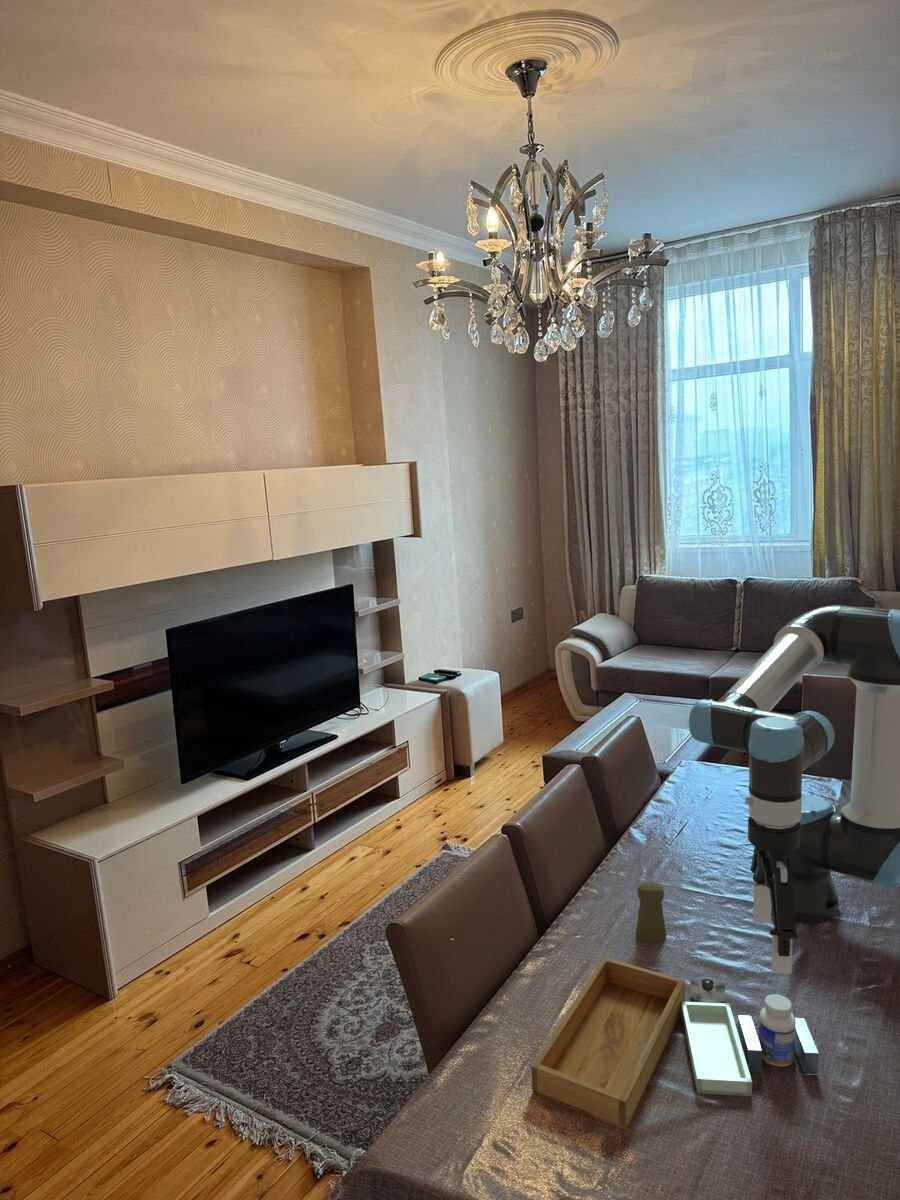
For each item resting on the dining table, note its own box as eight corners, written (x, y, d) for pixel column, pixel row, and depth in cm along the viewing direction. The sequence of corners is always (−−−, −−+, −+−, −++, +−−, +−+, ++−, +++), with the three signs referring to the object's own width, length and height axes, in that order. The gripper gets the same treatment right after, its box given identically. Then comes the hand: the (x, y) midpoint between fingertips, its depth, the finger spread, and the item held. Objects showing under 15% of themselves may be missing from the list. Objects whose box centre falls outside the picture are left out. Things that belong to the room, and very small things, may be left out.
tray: (626, 1133, 121) (625, 1098, 120) (531, 1095, 129) (530, 1063, 128) (685, 1008, 147) (685, 979, 146) (603, 984, 154) (603, 956, 153)
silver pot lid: (721, 987, 151) (721, 972, 151) (728, 1009, 145) (728, 993, 145) (687, 985, 152) (687, 970, 152) (692, 1007, 146) (692, 992, 146)
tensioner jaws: (803, 1040, 137) (804, 1018, 136) (817, 1076, 129) (818, 1053, 128) (737, 1036, 138) (738, 1015, 138) (748, 1072, 131) (748, 1049, 130)
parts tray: (729, 1016, 143) (729, 1003, 143) (751, 1096, 126) (752, 1081, 125) (681, 1014, 145) (681, 1001, 144) (697, 1093, 127) (697, 1078, 127)
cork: (667, 944, 165) (667, 893, 163) (636, 942, 166) (635, 891, 164) (665, 927, 171) (665, 877, 169) (635, 925, 172) (634, 876, 170)
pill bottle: (752, 1045, 136) (753, 992, 135) (784, 1042, 137) (785, 989, 135) (768, 1070, 131) (769, 1014, 129) (801, 1066, 131) (802, 1011, 130)
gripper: (733, 786, 140) (732, 902, 144) (766, 857, 116) (763, 994, 120) (780, 787, 139) (777, 903, 143) (823, 858, 115) (818, 997, 118)
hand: (771, 945), depth 131 cm, fingers open, 13 cm apart
